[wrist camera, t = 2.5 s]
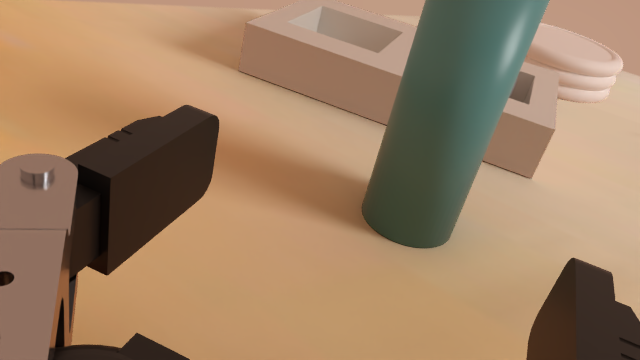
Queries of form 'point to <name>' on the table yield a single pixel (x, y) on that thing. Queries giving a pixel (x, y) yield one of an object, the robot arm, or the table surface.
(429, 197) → the teal cylinder
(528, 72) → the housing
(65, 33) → the table surface
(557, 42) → the coaster
